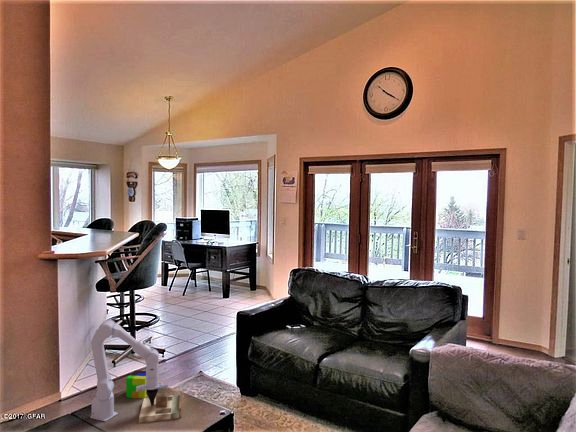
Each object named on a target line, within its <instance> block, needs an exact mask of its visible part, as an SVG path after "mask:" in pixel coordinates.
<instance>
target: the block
mask: <svg viewBox="0 0 576 432" xmlns="http://www.w3.org/2000/svg"><path fill="white" fill-rule="evenodd" d="M168 396H169V395H168V391H165V392H157V395H156V408H162V407H167V402H168Z"/></svg>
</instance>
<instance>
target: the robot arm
mask: <svg viewBox="0 0 576 432" xmlns="http://www.w3.org/2000/svg"><path fill="white" fill-rule="evenodd" d="M108 338H111V339H117V338H119V339H120V340H121V341H123V342H125V343H126V344H128V345H130V347H132V352H134V353H135V354H136V355H138V356H139V357H140V358H141V359H142V360H143V359H144V362H145V364H146V368H145V371H146V384H145V385H141V386H137V387H136V392H138V391H143V390H147V391H146V394H147V398H149V400H150V403H151V406H152V405H154V400H155V397H156V395H157V393H159V390H162V389H166V390H167V389H169V382H168V383H167V382H166V383H165V382H163V383H162V382H159V381H160V380H159V379H160V376H159V375H160V373H159V372H160V371H159V370H160V369H159V367H160V366H159V359H160V354H159V353H160V352H159V351H158V350H157V349H155V348H154V347H150V346H149V345H148V344H147V341H146V340H143V341H142V340H137V339H136V338H134V336H132V334H130V333H129V332H128V331H126V330H125V329H124V328H123V327H122V326H121V325H120V324H119V323H117V322H115V321H114V319H113V320H112V319H106V320H104V321H103V322H102V323H101V324H100V325H99V326H98V328H97V329H96V331H95V333H94V335H93V336H92V339H91V340H90V347H91V352H92V356H93V362H94V368H95V373H96V374H95V375H96V379H97V382H96V393H95V395H96V396H95V397H94V398H93V399H92V401H91V415H90V416H89V418H90V419H94V420H97V421H102V422H107V421H109V420H110V419H112V418H114V417H115V416H117V415H118V414H119V412H117V411H115V395H114V392H113V390H114V389H115V383H114V381H113V380H112V376H111V374H109V373H110V372H109V367H108V362H107V361H108V360H107V356H106V350H105V345H104V342H105V341H106V340H107V339H108Z"/></svg>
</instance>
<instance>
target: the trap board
mask: <svg viewBox="0 0 576 432" xmlns="http://www.w3.org/2000/svg"><path fill="white" fill-rule="evenodd" d="M182 411H183V390H180V391H179V394H174V395H173V394H172V395H168V402H167V407H162V408H156V397H155V400H154V405H152V406H151V403H150V400H149V397H146V398H143V401H142V405H141V408H140V413H139V416H138V423H147V422H149V423H150V422H156V421H158V422H159V421H165V420H173V419H182V414H183V413H182Z"/></svg>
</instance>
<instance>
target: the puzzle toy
mask: <svg viewBox="0 0 576 432" xmlns="http://www.w3.org/2000/svg"><path fill="white" fill-rule="evenodd" d="M125 380H126V383H125V385H126V390H125V391H126V392H125V395H126V398H131V399H132V398H133V399H139V398H140V399H144V398H148V396H147V394H146V391H147V390H143V391H138V392H136V387H137V386H141V385H145V384H146V370H134V371H133V372H132V373H130V374H129V375H128V376H127V377H126V378H125Z"/></svg>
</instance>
